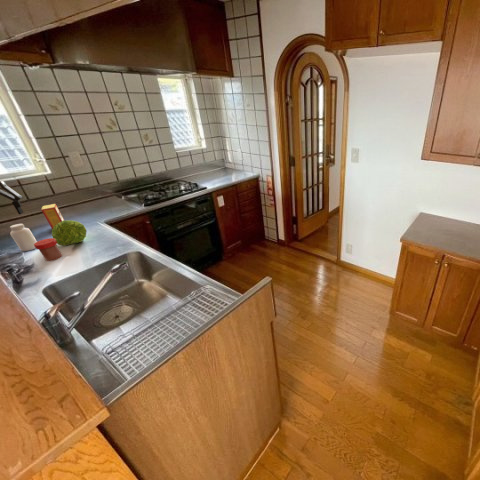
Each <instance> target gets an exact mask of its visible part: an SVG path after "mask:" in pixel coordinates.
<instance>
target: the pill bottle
mask: <svg viewBox="0 0 480 480" xmlns="http://www.w3.org/2000/svg"><path fill="white" fill-rule="evenodd" d="M9 228H10V230H11V231H10V233H9V234H10V237H11V238H12V239H13V241H14V242H15V244H16V245H17V247H18V248H19V250H20V251H21V252H27V251H32V250H34V249H36V248H35V246H34V244H35V243H36V242H38V241H37V239H36V237H35V235H34V234H33V233H32V231H31V230H30V228H29V227H25V225H24V224H23V223H16V224H12V225H10V226H9Z"/></svg>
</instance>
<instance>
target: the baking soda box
mask: <svg viewBox="0 0 480 480" xmlns="http://www.w3.org/2000/svg"><path fill="white" fill-rule="evenodd" d="M40 211H41V213H42V214H43V216H44V217H45V219H46V221H47V223H48V224H49V227H50V228H51V230H52V229H53V227H54V226H55V225H57V224H58V223H60V222H62V221H63V220H65V219H64V217H63V215H62V212H61V210H60V209H59V207H58V206H57V204H56V203H52V204H45V205H42V207H41V208H40Z"/></svg>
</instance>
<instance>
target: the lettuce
mask: <svg viewBox="0 0 480 480" xmlns="http://www.w3.org/2000/svg"><path fill="white" fill-rule="evenodd" d="M87 233H88V231H87V229H86V227H85V224H83V223H81V222H80V221H77V220H73V219H71V220H67V219H64V220H63V221H62V222H60V223H58V224H57V225H55V226H54V227H53V229H52V228H51V238H55V240H56V241H57V244H56V245H57V246H62V247H66V246H69V245H73V244H79V243H80V242H83V241H84V240H85V238H86V237H87Z"/></svg>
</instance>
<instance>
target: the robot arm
mask: <svg viewBox="0 0 480 480" xmlns="http://www.w3.org/2000/svg"><path fill="white" fill-rule="evenodd" d="M2 189H3V190H2ZM0 196H2V197H4V198H6V199H8V200H10V201H11V204H12V205H13V207H14V208H15V210H16V212H17V213H18V215H22V214H23V213H24V211H23V208H22V207H23V205H22V203H21V202H20V200H22V199H24V197H23V195H21V194H20V193H18V192H17V191H15V190H14V189H13V188H11V187H10V186H9V185H7V184H6V182H5V181H4V180H1V181H0Z"/></svg>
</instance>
